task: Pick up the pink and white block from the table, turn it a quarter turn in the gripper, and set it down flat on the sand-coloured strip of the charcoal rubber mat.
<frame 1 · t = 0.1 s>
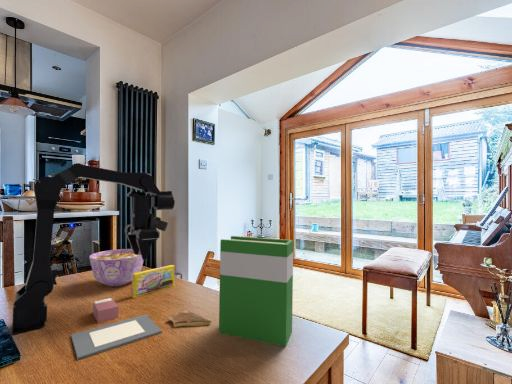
hand: (140, 257, 88), 15 cm above the table, tool pointing down, fingers open, 9 cm apart
candy box: (154, 292, 97), on the table
mat: (117, 334, 66), on the table
pink and white block: (105, 316, 77), on the table
bowl of food: (117, 283, 106), on the table
shard: (190, 322, 75), on the table
hardback book: (255, 333, 69), on the table
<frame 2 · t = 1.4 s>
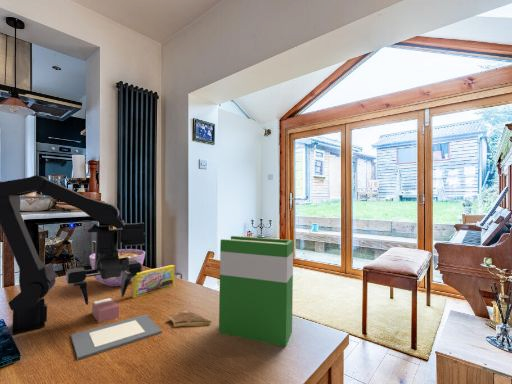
hand: (105, 300, 77), 4 cm above the table, tool pointing down, fingers open, 9 cm apart
nothing on the table moved.
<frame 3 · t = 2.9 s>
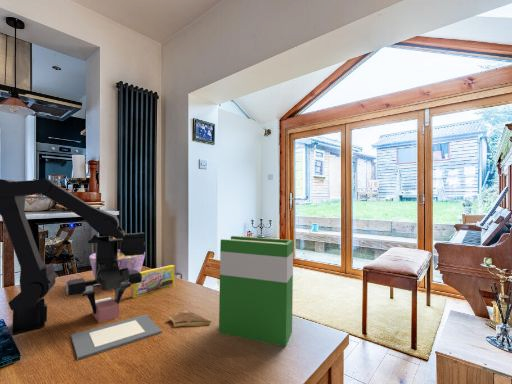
hand: (105, 310, 77), 1 cm above the table, tool pointing down, fingers closed on pink and white block, 5 cm apart
pink and white block: (105, 315, 77), on the table, touching gripper
everything else where it was.
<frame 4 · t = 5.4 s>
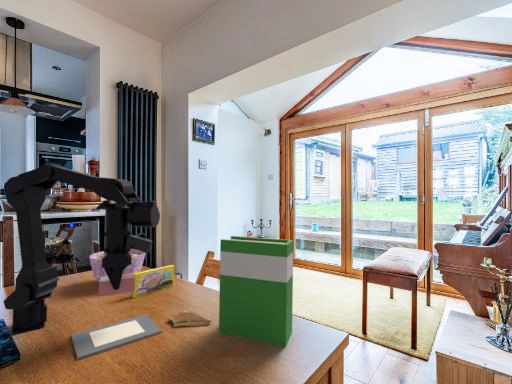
hand: (116, 286, 69), 11 cm above the table, tool pointing down, fingers closed on pink and white block, 5 cm apart
pink and white block: (116, 290, 69), point 10 cm above the table, touching gripper
everything else where it was.
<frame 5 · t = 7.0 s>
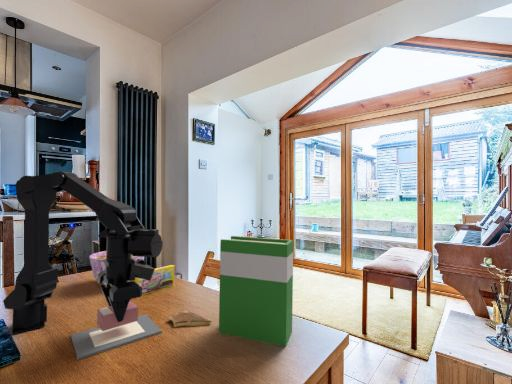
hand: (117, 317, 66), 4 cm above the table, tool pointing down, fingers closed on pink and white block, 5 cm apart
pink and white block: (117, 322, 67), point 3 cm above the table, touching gripper
everything else where it was.
when the fingers open (3 cm above the table, at t = 8.1 s): pink and white block stays where it is, resting on mat.
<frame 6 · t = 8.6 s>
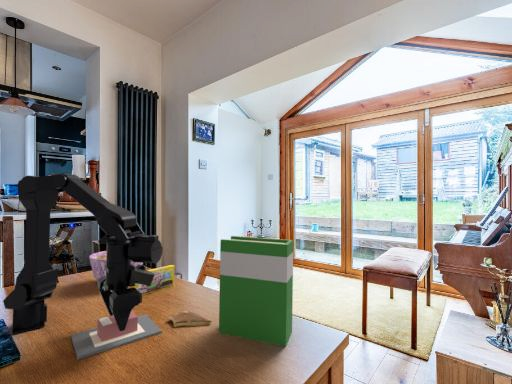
hand: (117, 323, 66), 3 cm above the table, tool pointing down, fingers open, 9 cm apart
pink and white block: (117, 332, 66), point 1 cm above the table, touching mat
everything else where it was.
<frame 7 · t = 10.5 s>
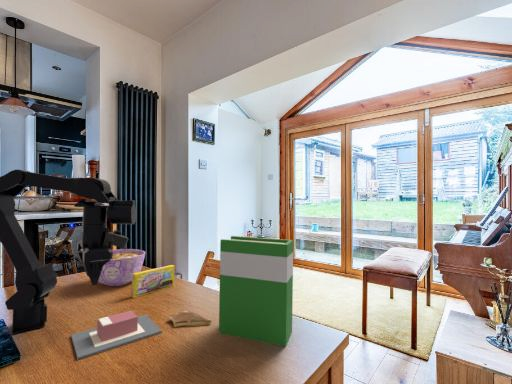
hand: (92, 280, 73), 12 cm above the table, tool pointing down, fingers open, 9 cm apart
nothing on the table moved.
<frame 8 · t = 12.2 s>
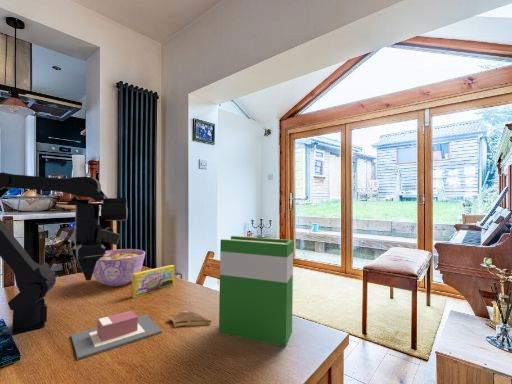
hand: (85, 276, 75), 12 cm above the table, tool pointing down, fingers open, 9 cm apart
nothing on the table moved.
at the end: pink and white block 0.1 cm from the target spot, point 0.6 cm above the table; pink and white block tilted 0°; the gripper is holding nothing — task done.
